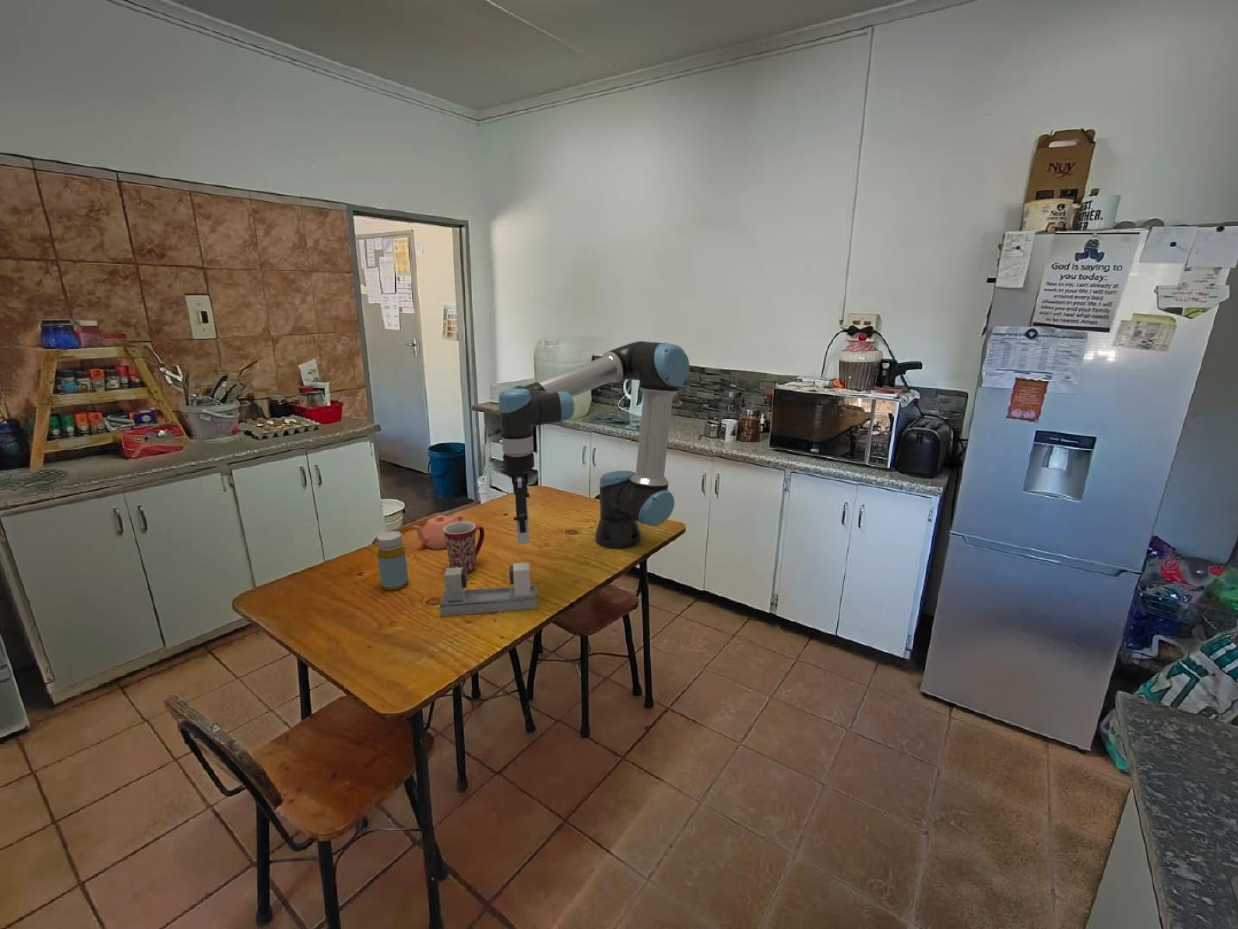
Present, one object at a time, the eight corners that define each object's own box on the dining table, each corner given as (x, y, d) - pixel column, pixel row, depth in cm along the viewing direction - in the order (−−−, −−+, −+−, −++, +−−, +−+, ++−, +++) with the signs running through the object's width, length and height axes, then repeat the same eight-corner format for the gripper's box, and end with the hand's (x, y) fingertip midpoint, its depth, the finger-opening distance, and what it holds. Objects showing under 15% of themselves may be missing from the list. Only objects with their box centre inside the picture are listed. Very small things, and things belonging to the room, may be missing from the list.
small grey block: (530, 590, 147) (529, 562, 145) (530, 597, 144) (529, 569, 141) (511, 591, 147) (509, 564, 144) (510, 599, 143) (509, 571, 141)
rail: (536, 595, 150) (535, 559, 147) (537, 608, 143) (535, 571, 140) (444, 602, 146) (441, 566, 143) (440, 616, 140) (436, 578, 137)
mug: (459, 579, 158) (455, 536, 154) (441, 570, 164) (436, 527, 160) (495, 564, 167) (492, 522, 164) (476, 555, 173) (473, 515, 169)
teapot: (474, 540, 185) (472, 513, 182) (424, 558, 172) (421, 529, 169) (454, 530, 192) (451, 504, 190) (405, 547, 179) (401, 519, 177)
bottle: (414, 581, 157) (408, 532, 153) (397, 593, 151) (390, 542, 147) (394, 577, 159) (387, 529, 155) (376, 589, 153) (369, 539, 149)
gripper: (504, 440, 148) (509, 515, 154) (500, 468, 124) (507, 554, 131) (532, 439, 149) (537, 513, 155) (534, 466, 125) (539, 552, 132)
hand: (523, 532), depth 143 cm, fingers open, 13 cm apart
